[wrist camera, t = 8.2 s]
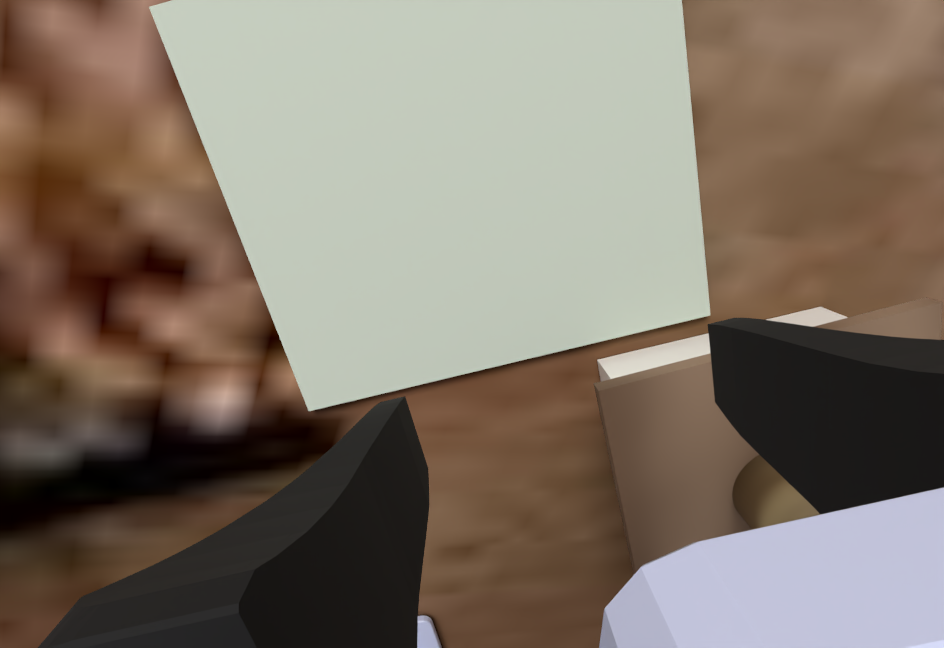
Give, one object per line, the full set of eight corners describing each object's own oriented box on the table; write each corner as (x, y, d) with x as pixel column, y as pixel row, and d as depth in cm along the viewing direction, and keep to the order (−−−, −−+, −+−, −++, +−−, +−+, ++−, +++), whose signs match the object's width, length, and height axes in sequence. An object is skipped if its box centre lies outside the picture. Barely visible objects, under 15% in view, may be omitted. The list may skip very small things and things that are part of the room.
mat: (311, 406, 22) (308, 411, 22) (155, 10, 17) (149, 7, 17) (705, 312, 21) (710, 315, 21) (664, -131, 16) (669, -138, 16)
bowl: (627, 535, 25) (658, 601, 21) (597, 359, 22) (627, 401, 18) (823, 491, 25) (890, 551, 21) (820, 306, 22) (899, 337, 18)
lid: (643, 621, 22) (685, 722, 18) (593, 383, 18) (633, 445, 14) (918, 557, 21) (1023, 647, 17) (926, 297, 17) (1063, 337, 13)
